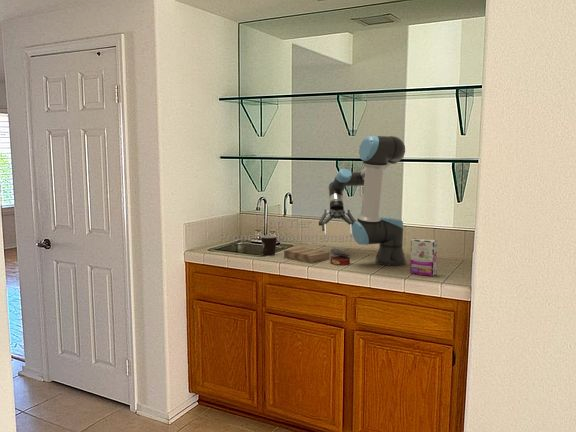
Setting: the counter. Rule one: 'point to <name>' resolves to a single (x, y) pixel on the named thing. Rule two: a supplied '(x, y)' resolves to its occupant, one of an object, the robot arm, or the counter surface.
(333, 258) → the canned food
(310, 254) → the block
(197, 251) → the counter surface
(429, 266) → the candy bar box
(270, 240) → the coffee mug
